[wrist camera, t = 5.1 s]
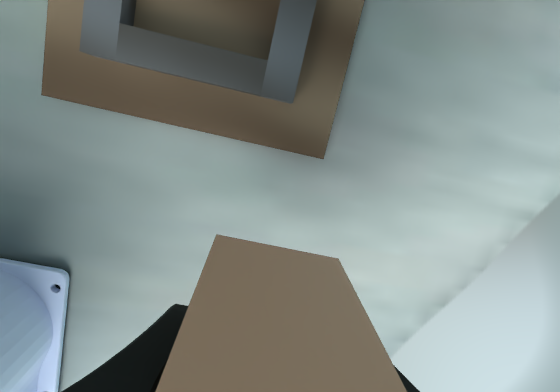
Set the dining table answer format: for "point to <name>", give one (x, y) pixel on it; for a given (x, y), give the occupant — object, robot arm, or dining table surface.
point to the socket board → (207, 64)
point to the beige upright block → (276, 327)
